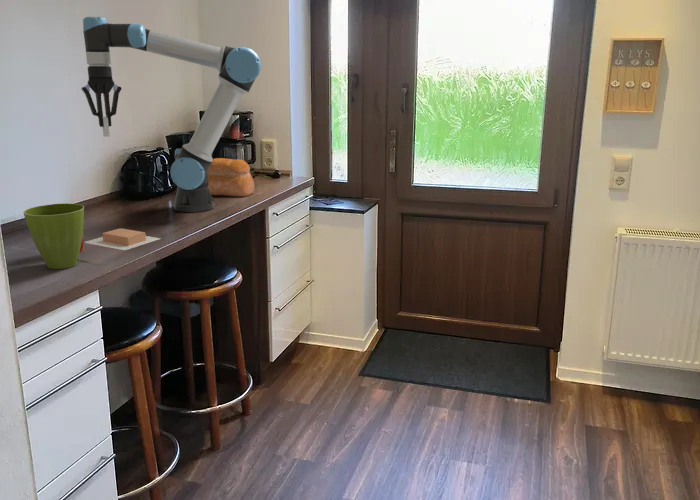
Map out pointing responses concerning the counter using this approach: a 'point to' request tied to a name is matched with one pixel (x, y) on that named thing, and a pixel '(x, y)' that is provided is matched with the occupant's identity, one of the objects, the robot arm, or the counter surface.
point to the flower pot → (57, 233)
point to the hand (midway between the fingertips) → (106, 136)
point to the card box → (124, 236)
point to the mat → (118, 246)
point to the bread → (230, 178)
